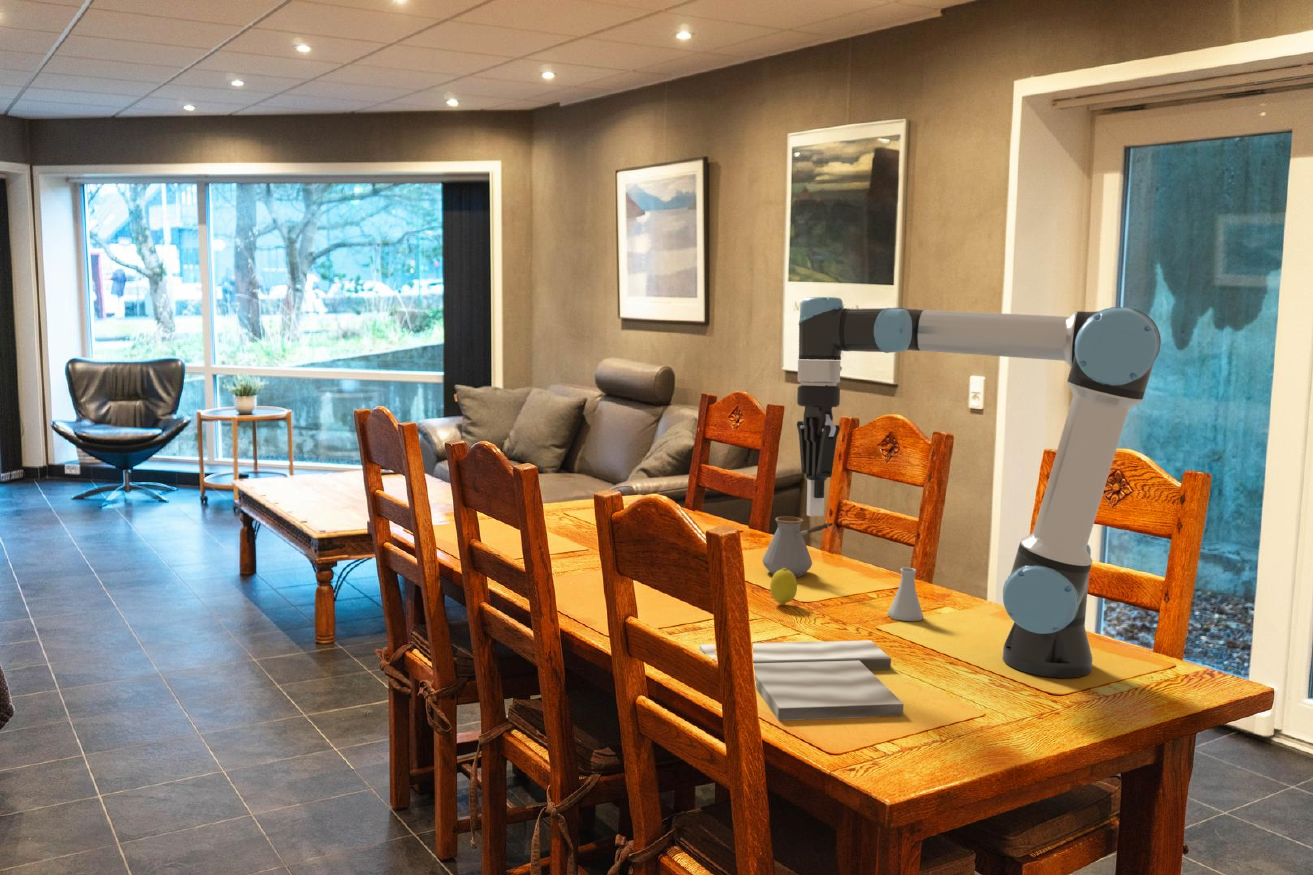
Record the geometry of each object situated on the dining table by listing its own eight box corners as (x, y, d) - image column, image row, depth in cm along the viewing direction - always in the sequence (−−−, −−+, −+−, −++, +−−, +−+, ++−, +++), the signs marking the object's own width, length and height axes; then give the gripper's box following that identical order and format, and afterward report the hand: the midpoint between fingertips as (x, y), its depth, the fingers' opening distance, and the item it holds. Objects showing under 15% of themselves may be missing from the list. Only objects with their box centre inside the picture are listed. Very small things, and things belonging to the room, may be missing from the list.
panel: (746, 674, 188) (747, 663, 188) (858, 671, 192) (859, 660, 191) (778, 720, 169) (779, 707, 168) (902, 715, 172) (903, 703, 172)
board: (699, 655, 198) (699, 644, 197) (870, 650, 203) (870, 640, 203) (711, 674, 188) (711, 663, 188) (890, 669, 193) (891, 658, 193)
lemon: (797, 609, 228) (799, 571, 227) (770, 608, 228) (772, 570, 227) (794, 601, 233) (796, 564, 232) (768, 600, 233) (770, 564, 232)
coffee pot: (752, 570, 259) (754, 507, 257) (791, 565, 265) (794, 503, 263) (809, 593, 241) (812, 525, 239) (849, 587, 246) (853, 521, 244)
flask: (921, 613, 228) (924, 566, 227) (925, 623, 221) (928, 574, 220) (885, 610, 229) (888, 563, 228) (888, 621, 222) (891, 572, 220)
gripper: (854, 385, 192) (850, 520, 194) (822, 383, 205) (818, 509, 206) (815, 385, 190) (811, 521, 192) (784, 383, 202) (781, 510, 204)
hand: (815, 515), depth 199 cm, fingers closed
